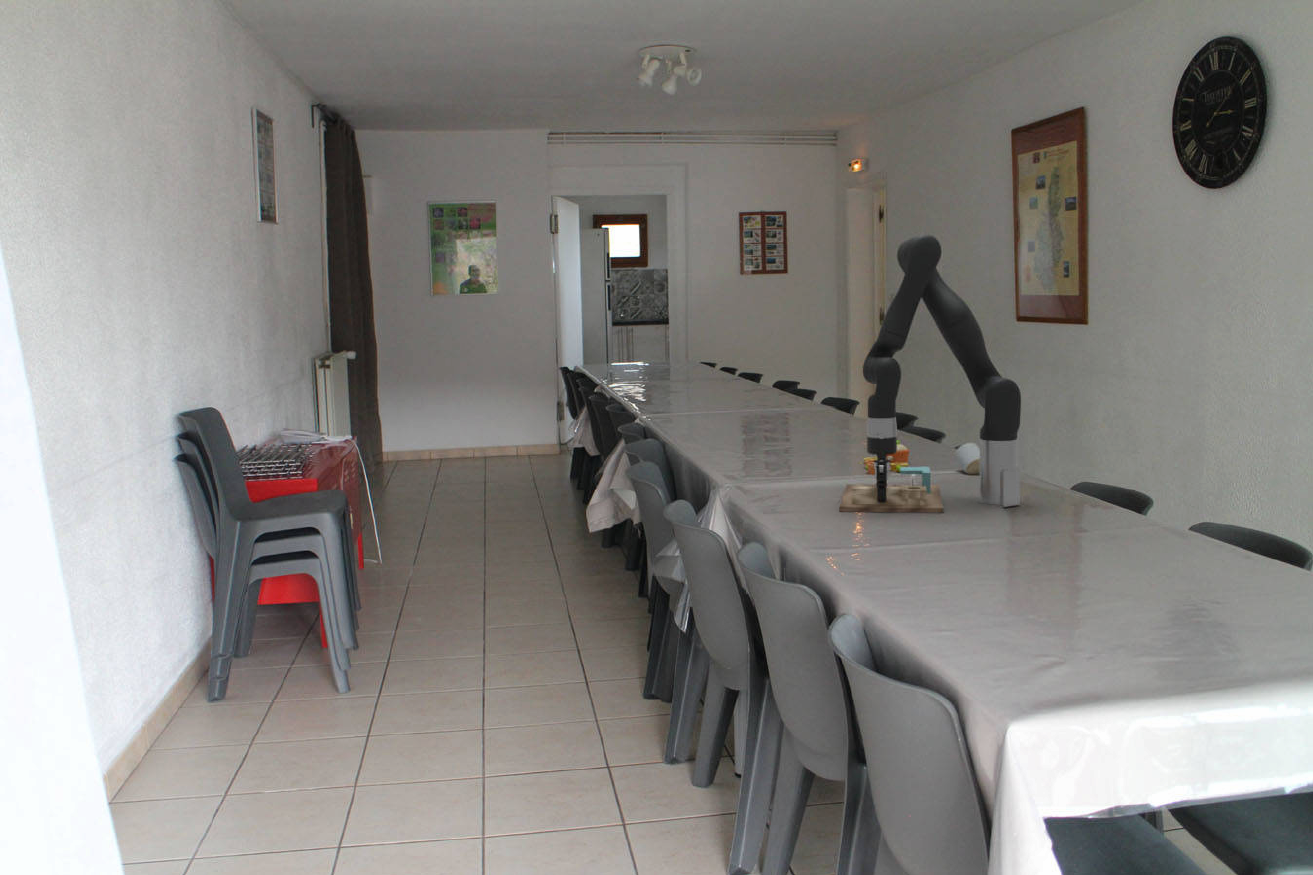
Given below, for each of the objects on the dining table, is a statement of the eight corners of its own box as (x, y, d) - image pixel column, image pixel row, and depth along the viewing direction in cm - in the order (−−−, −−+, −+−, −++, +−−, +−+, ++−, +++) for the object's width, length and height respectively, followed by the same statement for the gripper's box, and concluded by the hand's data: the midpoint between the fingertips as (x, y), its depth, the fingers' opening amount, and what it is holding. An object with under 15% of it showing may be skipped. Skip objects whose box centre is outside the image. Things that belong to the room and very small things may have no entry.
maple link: (925, 501, 267) (925, 486, 266) (926, 505, 261) (926, 490, 260) (853, 500, 271) (853, 485, 270) (852, 504, 265) (851, 489, 265)
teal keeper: (929, 486, 290) (929, 466, 289) (930, 493, 279) (930, 472, 278) (900, 486, 292) (900, 466, 291) (900, 493, 281) (900, 472, 280)
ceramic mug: (968, 481, 314) (965, 464, 309) (956, 464, 320) (953, 447, 315) (1000, 468, 314) (998, 450, 309) (987, 451, 320) (985, 434, 315)
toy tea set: (859, 467, 341) (859, 438, 340) (907, 467, 338) (907, 438, 337) (863, 480, 315) (863, 448, 314) (915, 479, 313) (915, 448, 312)
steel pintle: (916, 496, 275) (916, 474, 274) (916, 497, 273) (916, 475, 272) (910, 496, 275) (910, 474, 274) (910, 497, 273) (910, 475, 273)
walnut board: (938, 489, 292) (938, 485, 292) (943, 512, 257) (943, 508, 257) (847, 488, 298) (847, 484, 298) (839, 511, 263) (839, 506, 263)
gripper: (867, 432, 272) (868, 495, 274) (865, 438, 258) (866, 505, 260) (897, 431, 270) (897, 496, 272) (896, 438, 257) (896, 505, 258)
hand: (882, 500), depth 266 cm, fingers open, 4 cm apart
